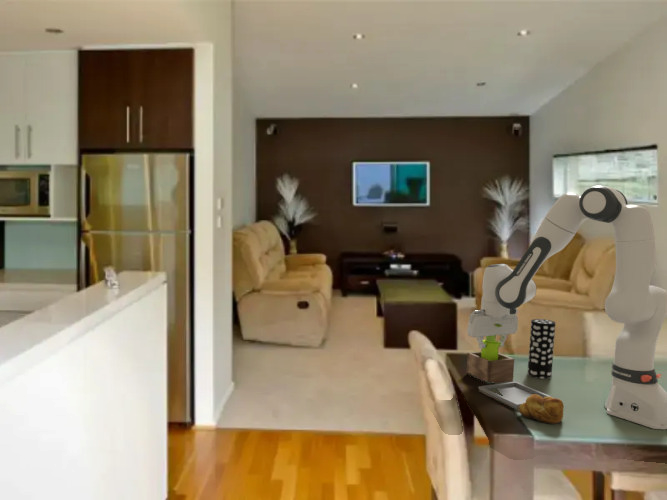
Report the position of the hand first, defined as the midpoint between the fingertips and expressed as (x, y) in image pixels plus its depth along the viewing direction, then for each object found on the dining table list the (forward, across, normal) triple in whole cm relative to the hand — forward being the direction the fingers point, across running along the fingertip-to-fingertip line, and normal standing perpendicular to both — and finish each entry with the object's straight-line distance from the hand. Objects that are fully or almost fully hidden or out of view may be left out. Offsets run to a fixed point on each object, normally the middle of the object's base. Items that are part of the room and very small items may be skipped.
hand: (491, 347), depth 220 cm
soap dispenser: (+11, 0, 0) cm, 11 cm away
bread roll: (+12, -12, -37) cm, 40 cm away
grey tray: (+11, -6, -20) cm, 24 cm away
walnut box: (+11, 0, 0) cm, 11 cm away
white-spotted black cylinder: (+11, +20, -4) cm, 23 cm away
